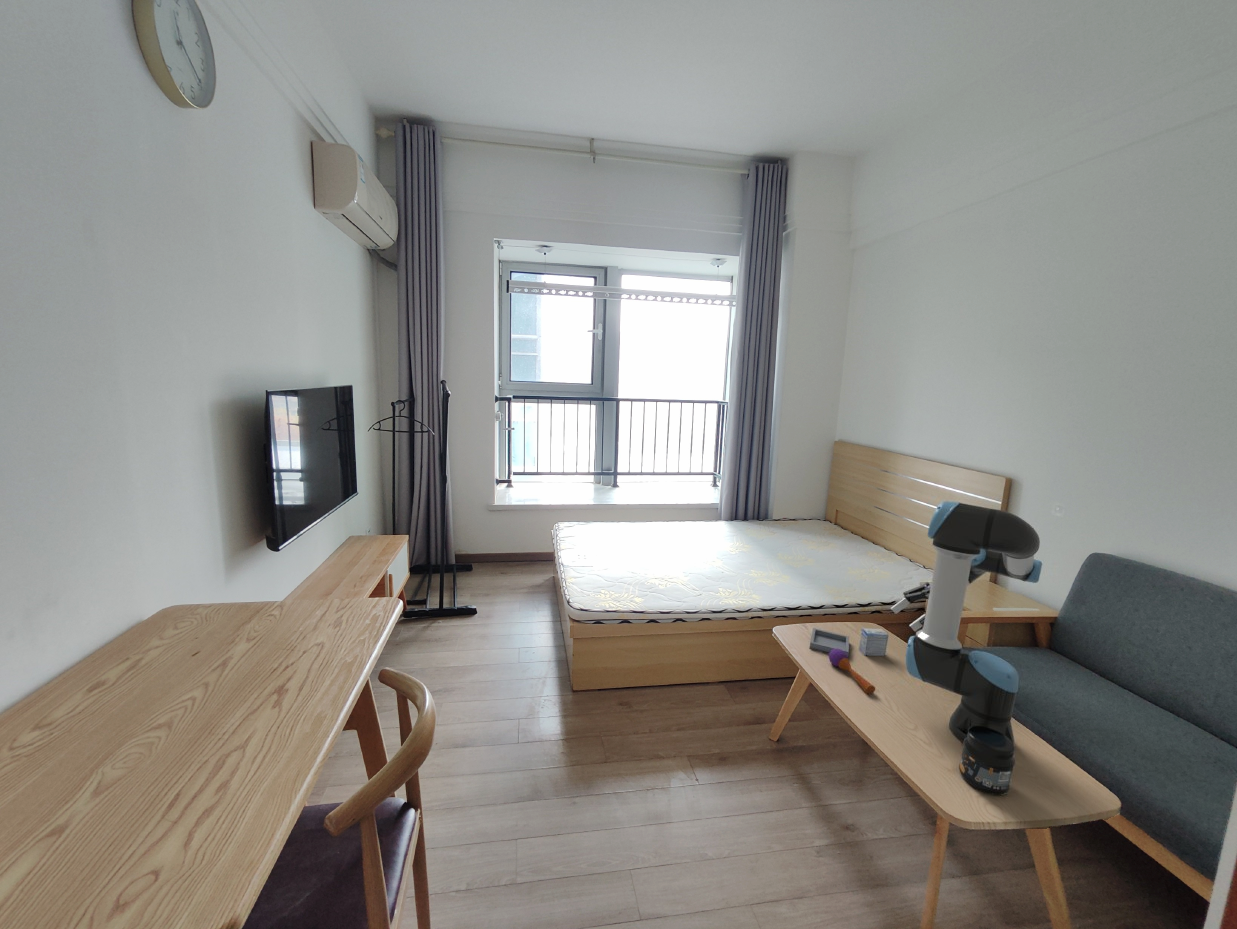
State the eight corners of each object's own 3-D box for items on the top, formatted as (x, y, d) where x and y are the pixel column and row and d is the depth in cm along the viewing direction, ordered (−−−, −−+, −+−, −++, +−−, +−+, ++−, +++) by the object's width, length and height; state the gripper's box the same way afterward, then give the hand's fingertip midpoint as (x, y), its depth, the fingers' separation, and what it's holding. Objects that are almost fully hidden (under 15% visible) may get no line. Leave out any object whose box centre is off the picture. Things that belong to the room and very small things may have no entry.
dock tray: (847, 658, 184) (848, 651, 184) (809, 648, 190) (810, 642, 189) (848, 642, 196) (849, 636, 196) (812, 633, 201) (813, 627, 201)
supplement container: (962, 759, 136) (970, 718, 134) (1011, 781, 129) (1020, 739, 127) (953, 779, 129) (961, 736, 127) (1005, 805, 122) (1015, 760, 120)
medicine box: (878, 650, 192) (882, 628, 190) (885, 656, 187) (889, 634, 186) (858, 649, 191) (861, 627, 190) (864, 656, 187) (867, 633, 185)
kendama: (862, 684, 162) (825, 647, 181) (861, 700, 163) (825, 661, 182) (879, 680, 163) (840, 643, 182) (878, 695, 164) (840, 657, 183)
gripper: (979, 605, 172) (927, 644, 175) (937, 577, 197) (891, 611, 200) (966, 589, 172) (914, 628, 175) (925, 563, 196) (880, 597, 199)
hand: (902, 619), depth 187 cm, fingers open, 13 cm apart
